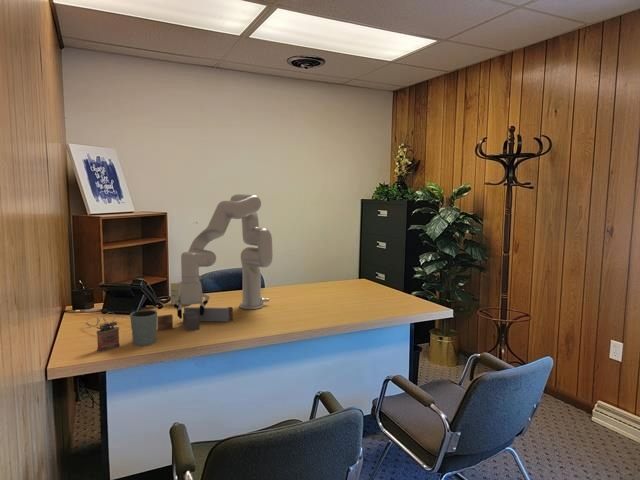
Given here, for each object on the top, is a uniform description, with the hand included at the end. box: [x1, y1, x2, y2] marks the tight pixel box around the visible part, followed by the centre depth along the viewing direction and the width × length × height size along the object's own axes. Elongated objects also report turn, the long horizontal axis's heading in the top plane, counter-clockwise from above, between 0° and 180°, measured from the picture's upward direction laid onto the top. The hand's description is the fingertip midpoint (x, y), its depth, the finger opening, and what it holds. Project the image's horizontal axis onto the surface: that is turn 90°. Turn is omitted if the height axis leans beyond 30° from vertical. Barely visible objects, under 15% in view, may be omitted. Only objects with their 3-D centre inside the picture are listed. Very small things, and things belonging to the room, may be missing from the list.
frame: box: [157, 306, 234, 332], centre depth 194 cm, size 34×2×6 cm, turn 121°
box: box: [170, 280, 190, 307], centre depth 227 cm, size 10×6×12 cm, turn 84°
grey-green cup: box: [129, 309, 158, 347], centre depth 170 cm, size 10×10×12 cm
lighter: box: [96, 321, 121, 352], centre depth 163 cm, size 8×3×10 cm, turn 138°
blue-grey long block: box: [183, 306, 229, 322], centre depth 199 cm, size 20×3×6 cm, turn 91°
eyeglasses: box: [85, 311, 131, 330], centre depth 187 cm, size 16×19×5 cm
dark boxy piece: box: [182, 312, 200, 332], centre depth 191 cm, size 5×10×6 cm, turn 29°
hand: (190, 316), depth 194 cm, fingers open, 9 cm apart
